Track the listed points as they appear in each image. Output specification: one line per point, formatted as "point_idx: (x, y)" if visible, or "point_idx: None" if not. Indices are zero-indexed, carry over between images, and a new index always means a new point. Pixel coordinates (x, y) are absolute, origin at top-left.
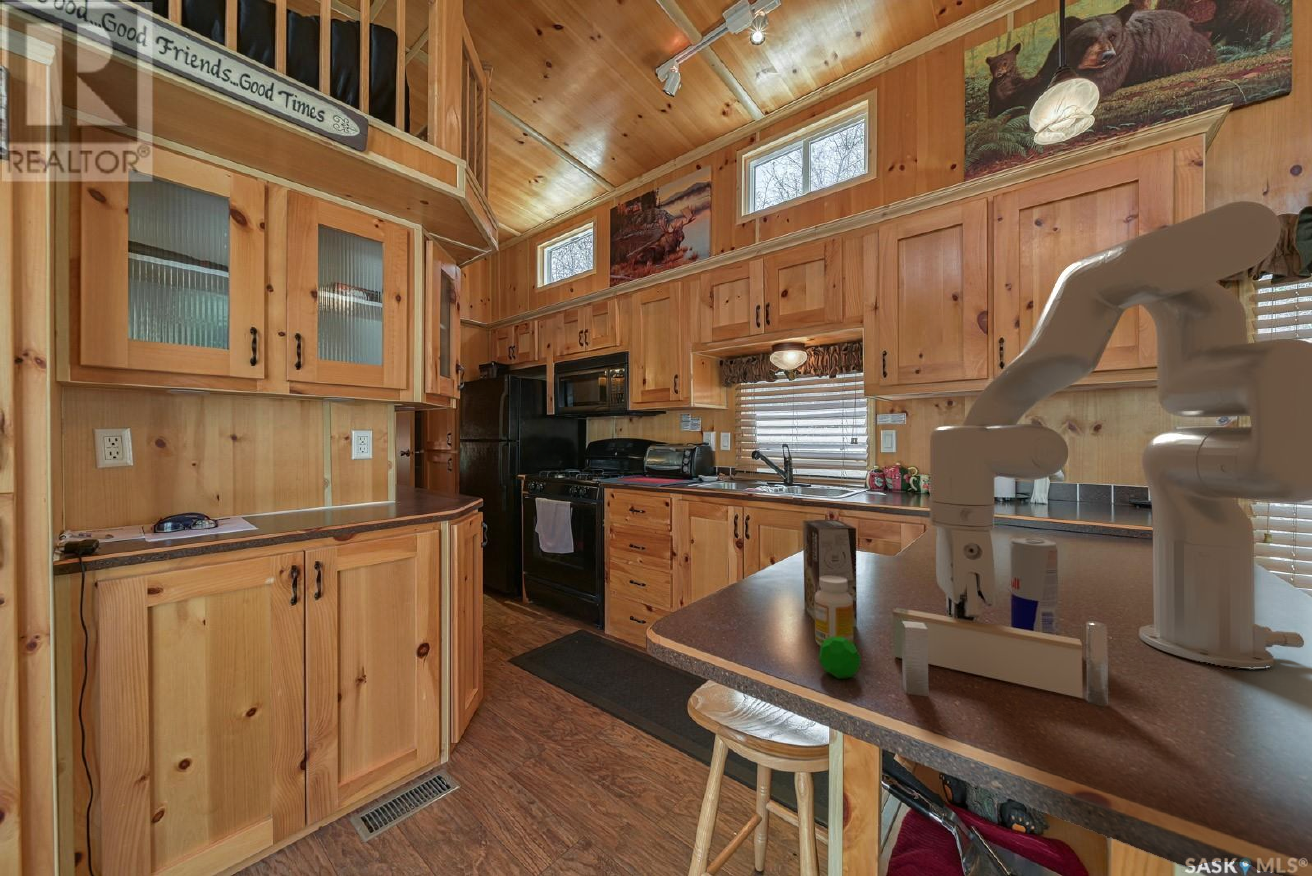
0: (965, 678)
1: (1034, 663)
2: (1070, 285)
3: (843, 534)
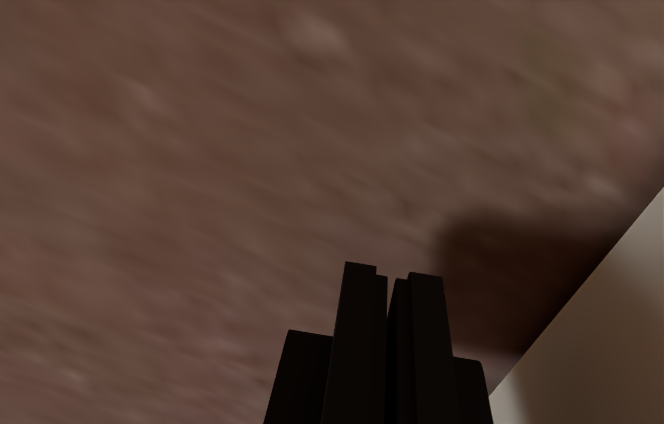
0: None
1: None
2: None
3: None
